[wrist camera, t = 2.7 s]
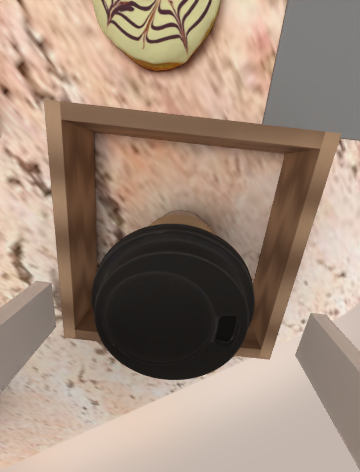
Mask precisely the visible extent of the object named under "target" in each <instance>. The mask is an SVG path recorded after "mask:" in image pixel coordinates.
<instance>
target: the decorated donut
mask: <svg viewBox="0 0 360 472" xmlns="http://www.w3.org/2000/svg"><path fill="white" fill-rule="evenodd" d="M220 3H221V0H93V5H94V10H95V14H96V17H97V20H98V23H99V25H100V27H101V29H102V31H103V33H104V34H105V35H106V36H107V37H108V39H110V40H111V41H112V42H113V43H114V44H115V45H116V46H117V47H118V48H119V49H121V50H122V51H123V52H124V53H125V54H126V55H127V56H128V57H129V58H131V59H132V60H133V61H135V62H136V63H138V64H139V65H141V66H143V67H144V68H146V69H152V70H154V71H159V70H167V69H171V68H175V67H177V66H180V65H182V64H184V63H185V62H187V60H188V59H189V58H190V57H191V56H192V54H193V53H194V52H195V51H196V50H197V48H198V47H199V46H200V44H201V43H202V42H203V41H204V39H205V38H206V37H207V35H208V33H209V32H210V30H211V28H212V26H213V24H214V22H215V19H216V17H217V14H218V10H219V7H220Z"/></svg>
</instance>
